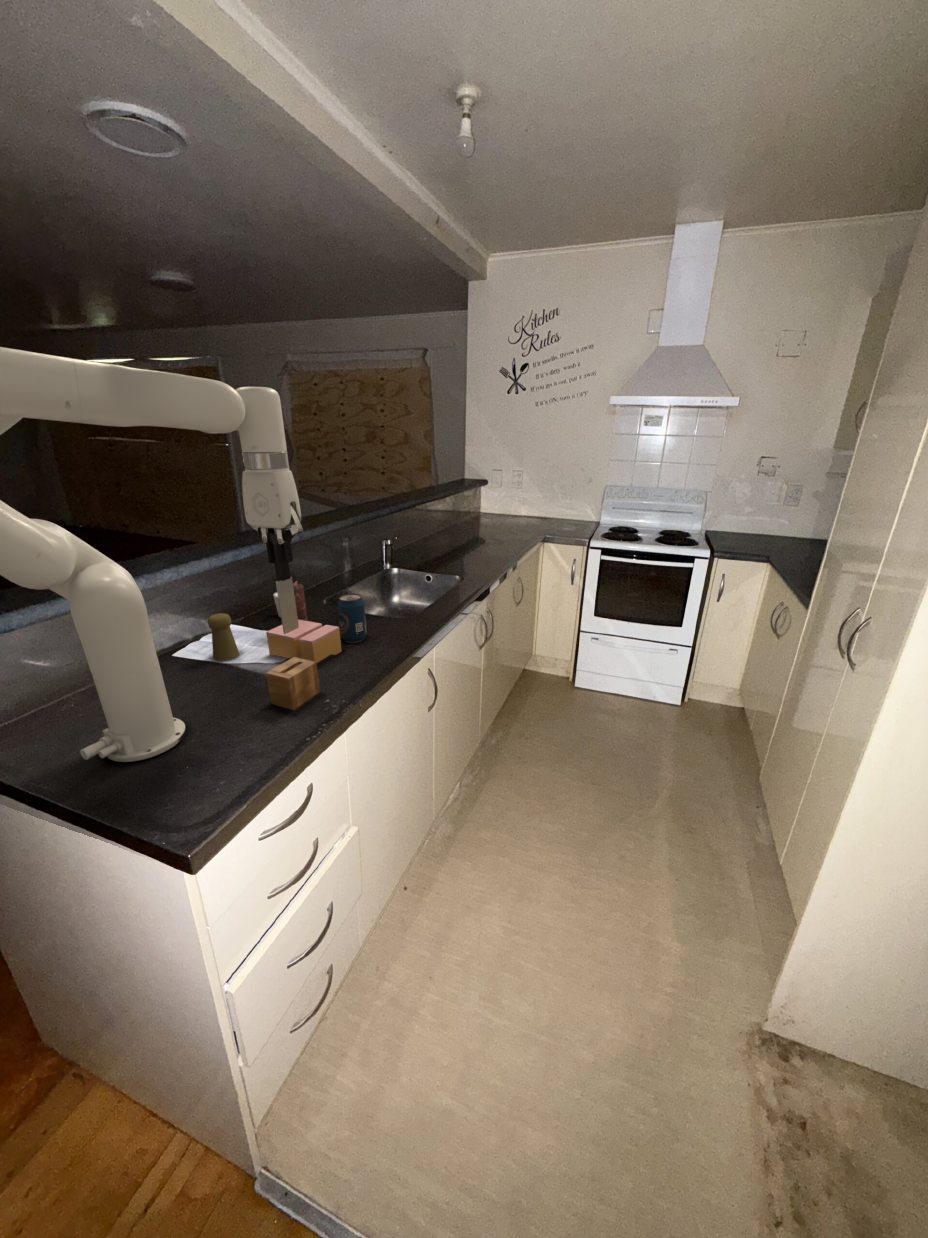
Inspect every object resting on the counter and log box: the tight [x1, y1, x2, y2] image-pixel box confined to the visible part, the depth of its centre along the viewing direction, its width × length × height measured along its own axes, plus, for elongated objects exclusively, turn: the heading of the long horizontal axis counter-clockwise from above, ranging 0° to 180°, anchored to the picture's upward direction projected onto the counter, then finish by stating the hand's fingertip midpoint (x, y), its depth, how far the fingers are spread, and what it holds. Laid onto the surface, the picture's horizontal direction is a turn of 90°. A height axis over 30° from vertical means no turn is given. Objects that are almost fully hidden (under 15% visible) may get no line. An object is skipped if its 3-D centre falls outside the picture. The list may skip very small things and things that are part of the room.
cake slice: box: [299, 624, 342, 664], centre depth 119 cm, size 10×4×7 cm, turn 155°
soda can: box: [337, 593, 368, 644], centre depth 129 cm, size 7×7×12 cm
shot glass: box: [272, 591, 281, 619], centre depth 148 cm, size 7×7×7 cm
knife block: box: [265, 657, 321, 711], centre depth 100 cm, size 8×6×8 cm
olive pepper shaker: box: [207, 612, 240, 662], centre depth 120 cm, size 6×6×11 cm
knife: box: [270, 533, 299, 634], centre depth 95 cm, size 4×2×20 cm, turn 154°
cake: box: [265, 619, 323, 659], centre depth 122 cm, size 10×9×7 cm
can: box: [292, 580, 309, 621], centre depth 134 cm, size 6×6×14 cm
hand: (281, 561), depth 94 cm, fingers closed on knife, 1 cm apart
